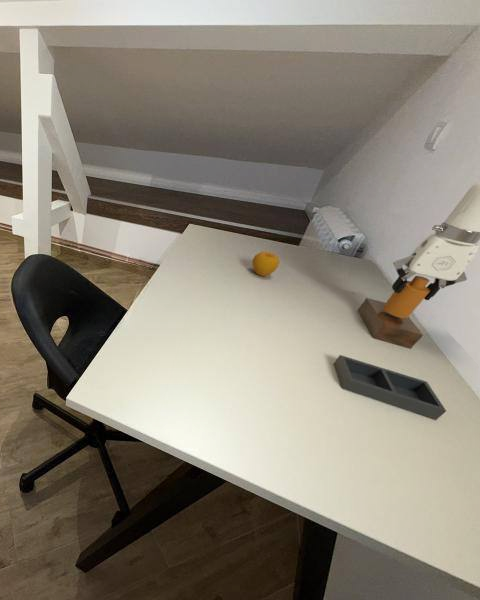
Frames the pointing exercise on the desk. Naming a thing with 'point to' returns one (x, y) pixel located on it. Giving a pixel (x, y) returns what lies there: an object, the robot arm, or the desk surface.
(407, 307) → the bottle
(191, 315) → the desk surface
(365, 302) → the wooden block
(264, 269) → the apple
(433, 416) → the grey divided tray
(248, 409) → the desk surface
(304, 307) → the desk surface
